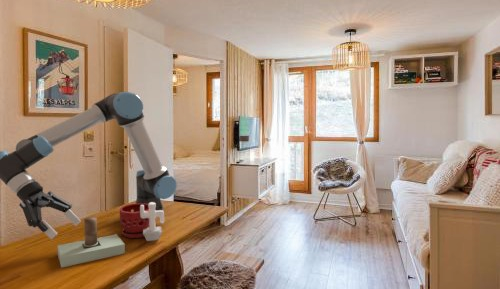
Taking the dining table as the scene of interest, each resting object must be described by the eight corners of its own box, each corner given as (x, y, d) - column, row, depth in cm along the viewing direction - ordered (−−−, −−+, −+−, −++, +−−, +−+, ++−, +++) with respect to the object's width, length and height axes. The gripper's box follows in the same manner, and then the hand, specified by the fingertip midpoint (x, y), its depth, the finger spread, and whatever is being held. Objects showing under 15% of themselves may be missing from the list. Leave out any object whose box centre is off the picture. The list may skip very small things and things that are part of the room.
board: (116, 242, 124) (116, 234, 124) (124, 253, 115) (124, 244, 114) (57, 254, 112) (57, 245, 112) (61, 267, 103) (60, 257, 102)
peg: (96, 250, 117) (96, 216, 116) (99, 254, 113) (98, 219, 112) (83, 253, 114) (82, 218, 113) (85, 257, 110) (84, 221, 109)
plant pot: (116, 233, 134) (115, 206, 134) (146, 227, 143) (146, 201, 142) (125, 243, 124) (125, 213, 123) (157, 235, 132) (157, 208, 132)
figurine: (164, 240, 127) (164, 204, 126) (140, 243, 124) (139, 206, 123) (163, 234, 134) (163, 200, 133) (140, 236, 131) (140, 201, 130)
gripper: (43, 187, 126) (80, 225, 126) (-12, 203, 101) (34, 250, 101) (56, 174, 125) (93, 212, 125) (3, 187, 100) (50, 235, 101)
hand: (67, 229), depth 113 cm, fingers open, 13 cm apart
